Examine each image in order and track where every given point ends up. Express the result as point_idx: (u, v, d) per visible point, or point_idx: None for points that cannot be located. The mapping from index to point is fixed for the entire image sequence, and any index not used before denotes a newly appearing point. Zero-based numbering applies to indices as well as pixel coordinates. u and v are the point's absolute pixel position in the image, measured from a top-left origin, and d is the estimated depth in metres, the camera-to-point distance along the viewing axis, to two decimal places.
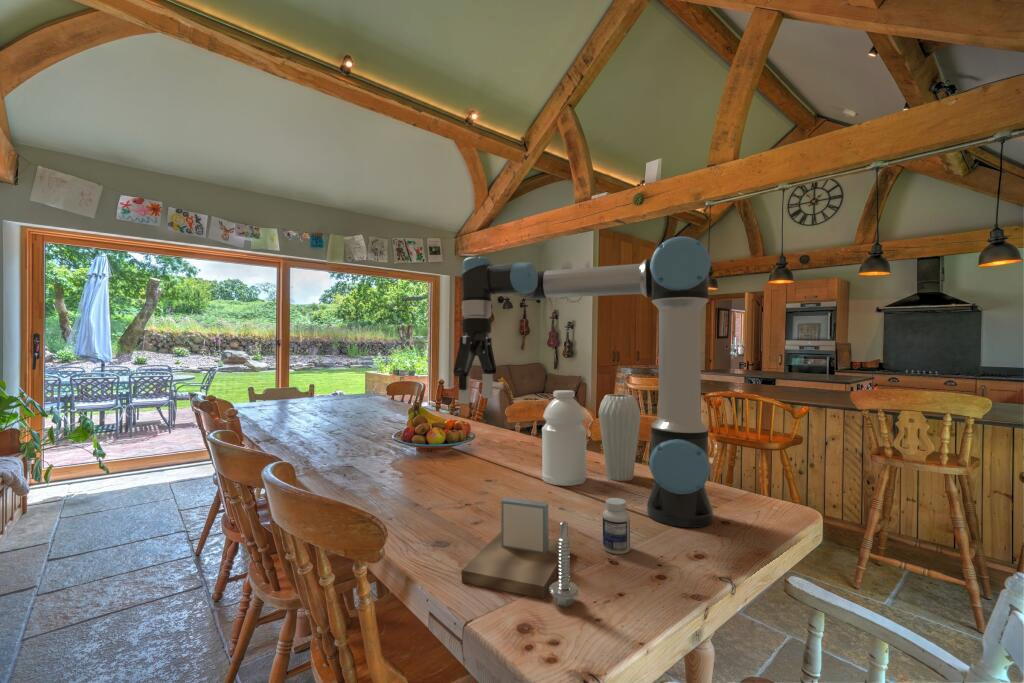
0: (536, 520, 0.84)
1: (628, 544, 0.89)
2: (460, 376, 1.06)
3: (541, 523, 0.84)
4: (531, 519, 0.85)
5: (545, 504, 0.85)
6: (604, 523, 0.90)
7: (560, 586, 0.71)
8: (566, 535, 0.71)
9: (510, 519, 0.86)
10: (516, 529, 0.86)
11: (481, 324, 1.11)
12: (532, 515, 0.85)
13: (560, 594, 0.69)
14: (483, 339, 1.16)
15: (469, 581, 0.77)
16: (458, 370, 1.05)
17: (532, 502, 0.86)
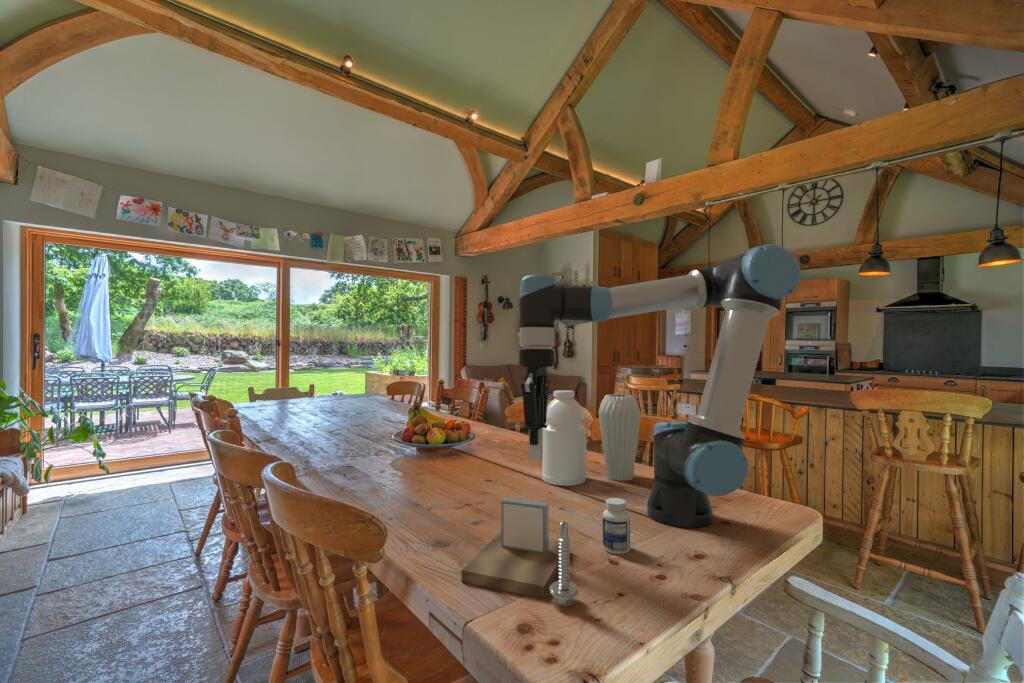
0: (536, 520, 0.84)
1: (628, 544, 0.89)
2: (532, 429, 0.92)
3: (541, 523, 0.84)
4: (531, 519, 0.85)
5: (545, 504, 0.85)
6: (604, 523, 0.90)
7: (560, 586, 0.71)
8: (566, 535, 0.71)
9: (510, 519, 0.86)
10: (516, 529, 0.86)
11: (544, 357, 0.91)
12: (532, 515, 0.85)
13: (560, 594, 0.69)
14: (543, 374, 0.96)
15: (469, 581, 0.77)
16: (531, 423, 0.91)
17: (532, 502, 0.86)
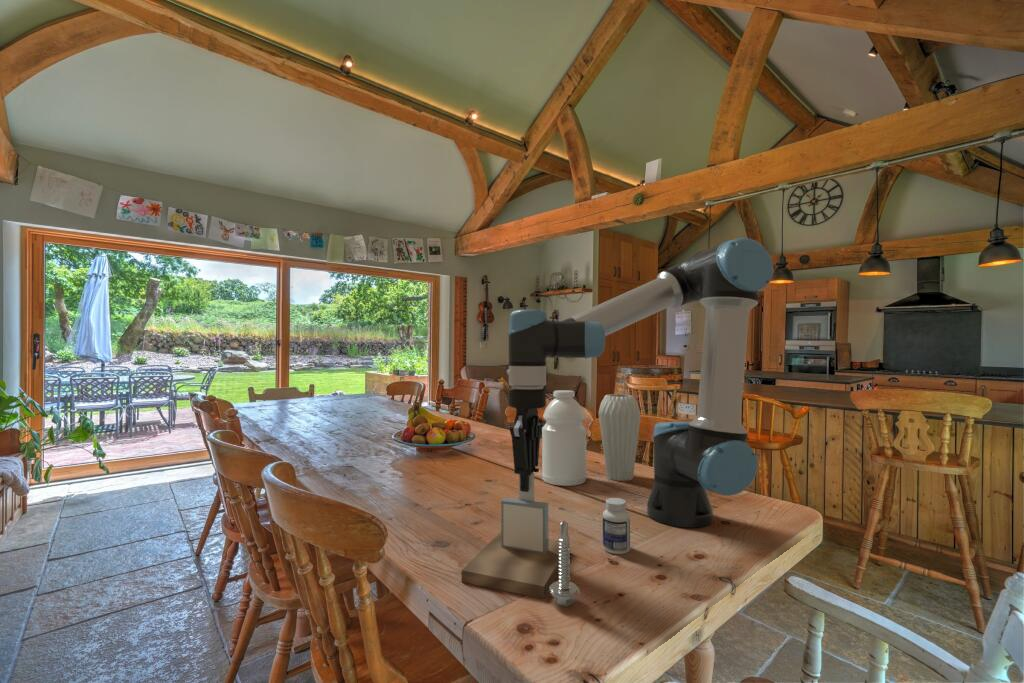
0: (536, 520, 0.84)
1: (628, 544, 0.89)
2: (522, 475, 0.86)
3: (541, 523, 0.84)
4: (531, 519, 0.85)
5: (545, 504, 0.85)
6: (604, 523, 0.90)
7: (560, 586, 0.71)
8: (566, 535, 0.71)
9: (510, 519, 0.86)
10: (516, 529, 0.86)
11: (535, 398, 0.85)
12: (532, 515, 0.85)
13: (560, 594, 0.69)
14: (534, 414, 0.90)
15: (469, 581, 0.77)
16: (521, 469, 0.85)
17: (532, 502, 0.86)
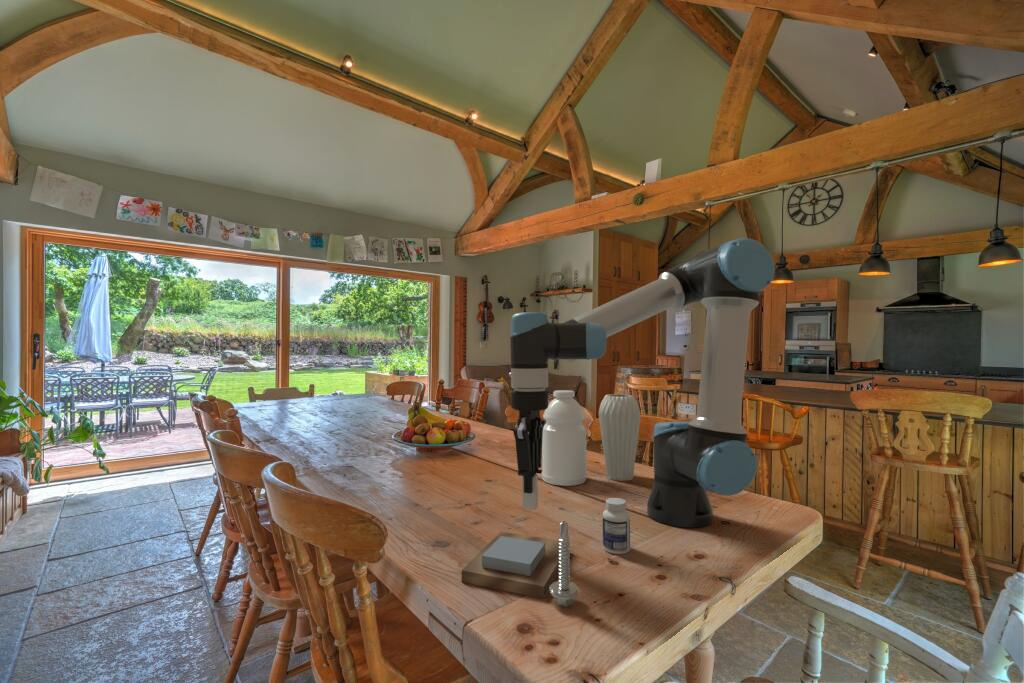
0: None
1: (628, 544, 0.89)
2: (526, 477, 0.87)
3: None
4: None
5: (528, 569, 0.75)
6: (604, 523, 0.90)
7: (560, 586, 0.71)
8: (566, 535, 0.71)
9: None
10: None
11: (537, 400, 0.86)
12: None
13: (560, 594, 0.69)
14: (537, 416, 0.90)
15: (469, 581, 0.77)
16: (524, 471, 0.86)
17: (513, 566, 0.76)
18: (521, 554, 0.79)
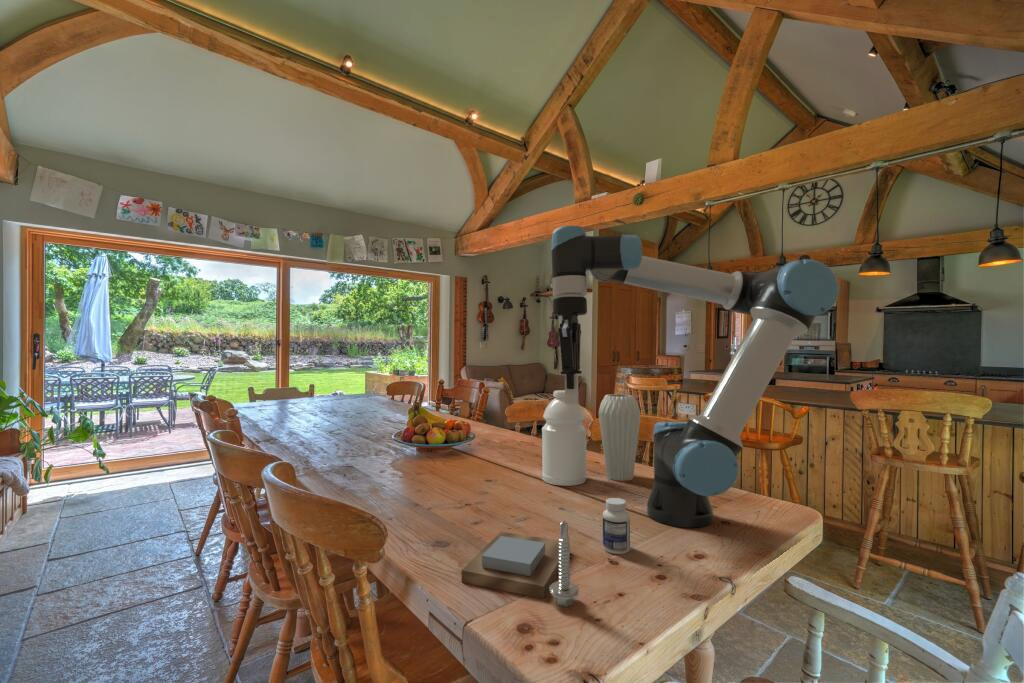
0: None
1: (628, 544, 0.89)
2: (568, 374, 0.96)
3: None
4: None
5: (528, 569, 0.75)
6: (604, 523, 0.90)
7: (560, 586, 0.71)
8: (566, 535, 0.71)
9: None
10: None
11: (578, 303, 0.95)
12: None
13: (560, 594, 0.69)
14: (576, 322, 1.00)
15: (469, 581, 0.77)
16: (568, 367, 0.95)
17: (513, 566, 0.76)
18: (521, 554, 0.79)
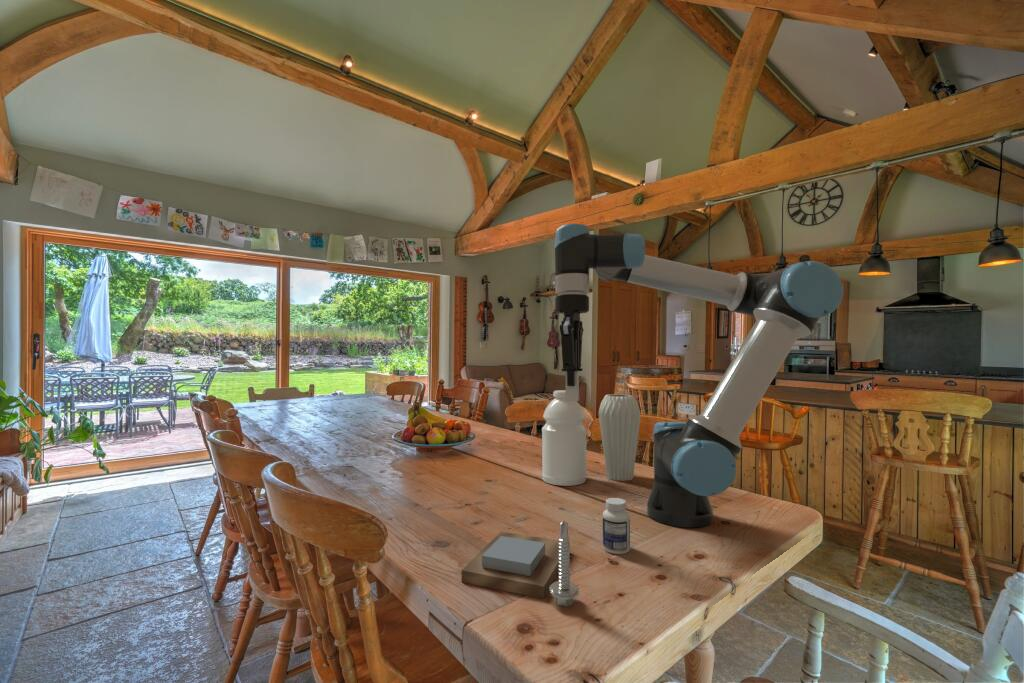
0: None
1: (628, 544, 0.89)
2: (569, 371, 0.97)
3: None
4: None
5: (528, 569, 0.75)
6: (604, 523, 0.90)
7: (560, 586, 0.71)
8: (566, 535, 0.71)
9: None
10: None
11: (580, 301, 0.96)
12: None
13: (560, 594, 0.69)
14: (578, 320, 1.00)
15: (469, 581, 0.77)
16: (568, 364, 0.96)
17: (513, 566, 0.76)
18: (521, 554, 0.79)
